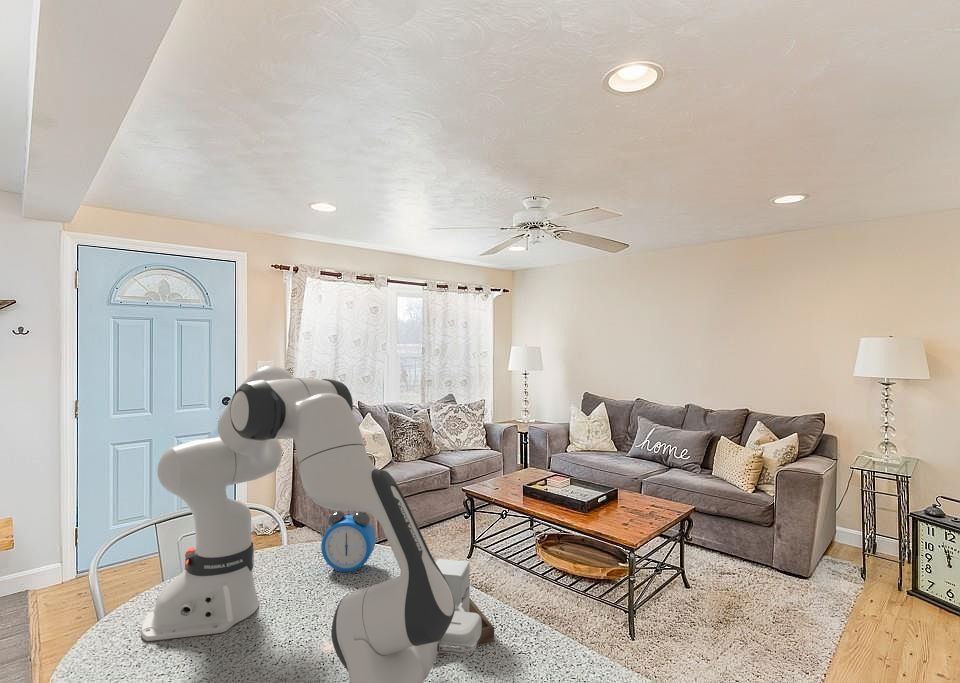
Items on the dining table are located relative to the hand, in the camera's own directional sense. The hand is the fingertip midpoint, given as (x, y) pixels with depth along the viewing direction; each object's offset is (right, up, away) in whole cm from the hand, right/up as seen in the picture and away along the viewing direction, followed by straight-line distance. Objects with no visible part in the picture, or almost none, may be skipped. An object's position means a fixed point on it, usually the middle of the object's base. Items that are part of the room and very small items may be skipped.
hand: (435, 603), depth 97 cm
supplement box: (+2, -9, +8) cm, 12 cm away
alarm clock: (-26, -10, +38) cm, 47 cm away
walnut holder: (+2, -10, +8) cm, 13 cm away
